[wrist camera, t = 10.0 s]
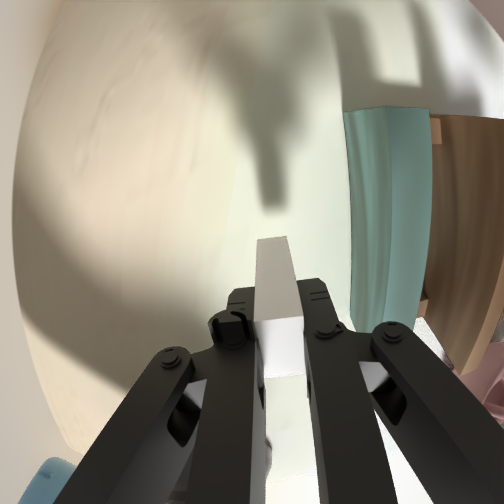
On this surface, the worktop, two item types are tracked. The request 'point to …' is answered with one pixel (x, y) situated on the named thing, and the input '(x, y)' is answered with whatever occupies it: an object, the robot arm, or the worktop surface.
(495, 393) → the mortar and pestle
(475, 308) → the frame
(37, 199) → the worktop surface
